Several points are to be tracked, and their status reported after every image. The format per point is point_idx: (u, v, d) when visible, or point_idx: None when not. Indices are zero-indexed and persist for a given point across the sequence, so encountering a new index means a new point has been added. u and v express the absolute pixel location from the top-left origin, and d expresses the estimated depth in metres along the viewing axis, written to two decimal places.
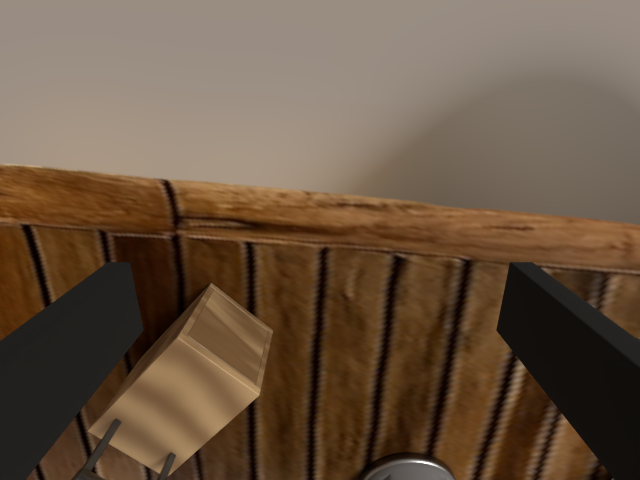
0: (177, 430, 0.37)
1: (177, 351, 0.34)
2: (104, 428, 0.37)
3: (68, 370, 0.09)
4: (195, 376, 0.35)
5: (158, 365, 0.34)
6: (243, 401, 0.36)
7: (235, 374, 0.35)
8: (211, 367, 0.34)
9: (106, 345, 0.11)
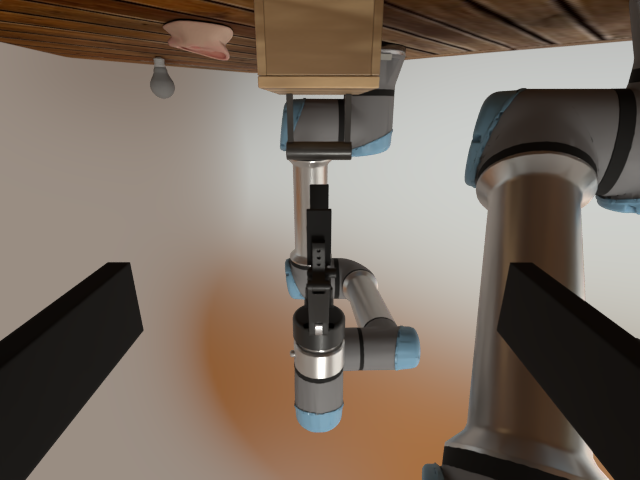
0: (335, 92, 0.38)
1: (271, 88, 0.31)
2: None
3: (68, 371, 0.09)
4: (307, 89, 0.32)
5: None
6: None
7: (340, 82, 0.29)
8: (311, 88, 0.30)
9: (106, 345, 0.11)
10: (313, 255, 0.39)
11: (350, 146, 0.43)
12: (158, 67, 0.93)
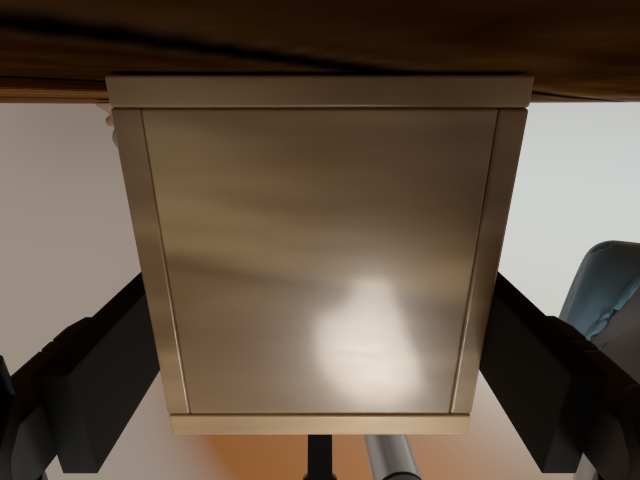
0: None
1: None
2: None
3: (145, 345, 0.10)
4: None
5: None
6: None
7: (373, 426, 0.12)
8: None
9: None
10: None
11: None
12: None
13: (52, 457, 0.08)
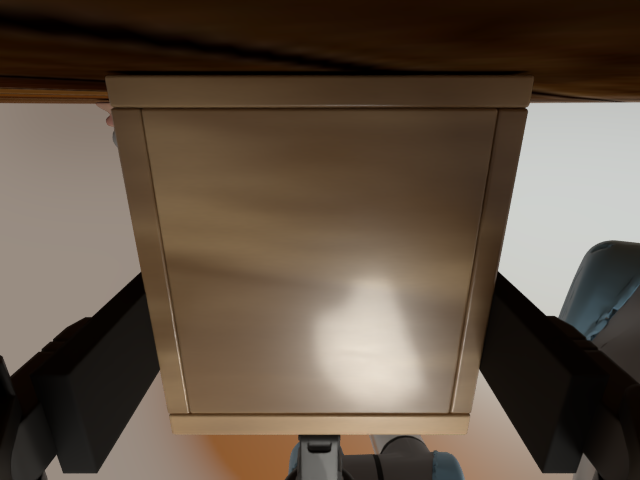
0: None
1: None
2: None
3: (144, 345, 0.10)
4: None
5: None
6: None
7: (373, 426, 0.12)
8: None
9: None
10: None
11: None
12: None
13: (52, 457, 0.08)
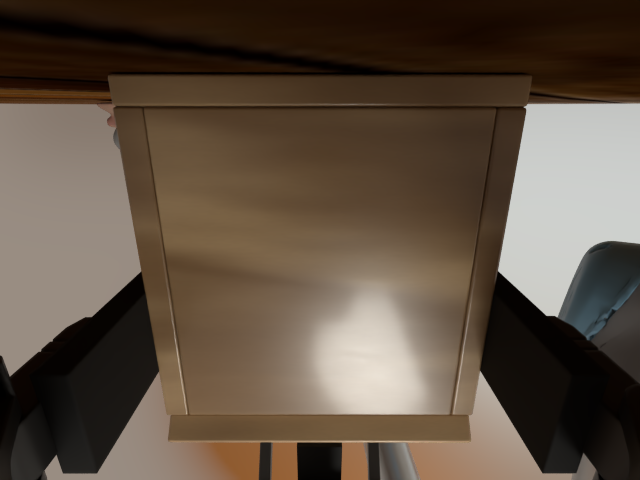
0: None
1: None
2: None
3: (145, 345, 0.10)
4: None
5: None
6: None
7: (373, 429, 0.12)
8: None
9: None
10: None
11: None
12: None
13: (52, 457, 0.08)
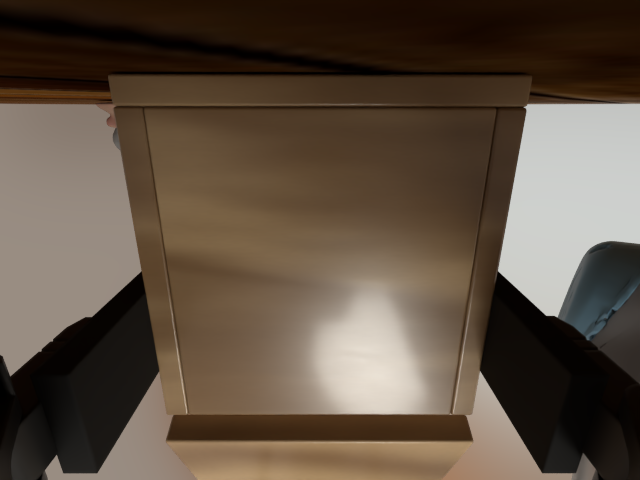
0: None
1: (201, 455, 0.12)
2: None
3: (145, 345, 0.10)
4: (291, 465, 0.13)
5: (207, 476, 0.14)
6: (441, 459, 0.13)
7: (373, 428, 0.12)
8: (302, 448, 0.12)
9: None
10: None
11: None
12: None
13: (52, 457, 0.08)
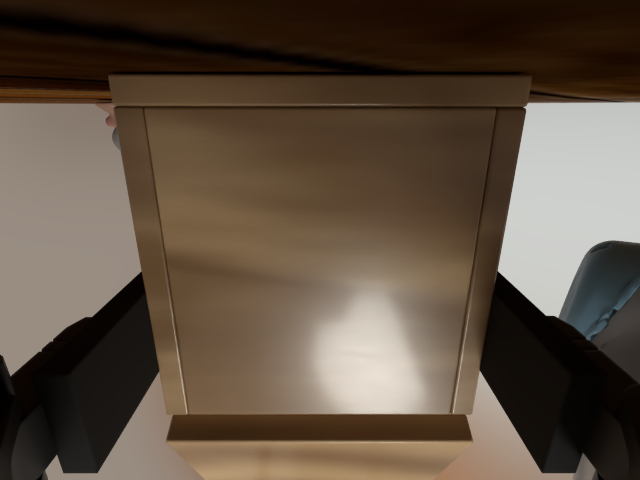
0: None
1: (201, 453, 0.12)
2: None
3: (145, 345, 0.10)
4: (291, 462, 0.13)
5: (208, 471, 0.14)
6: (440, 456, 0.13)
7: (373, 428, 0.12)
8: (302, 447, 0.12)
9: None
10: None
11: None
12: None
13: (52, 457, 0.08)
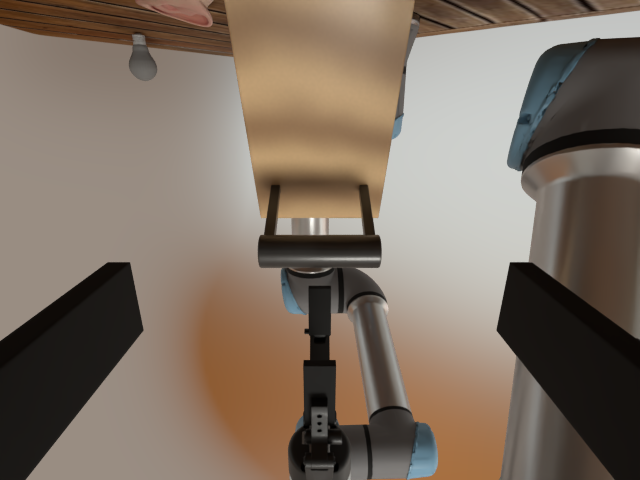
0: (344, 152, 0.26)
1: (244, 25, 0.20)
2: None
3: (68, 371, 0.09)
4: (301, 49, 0.20)
5: (245, 73, 0.21)
6: (397, 33, 0.20)
7: None
8: (308, 10, 0.19)
9: (106, 345, 0.11)
10: (312, 421, 0.30)
11: (376, 235, 0.23)
12: (137, 44, 0.83)
13: None
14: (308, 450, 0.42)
